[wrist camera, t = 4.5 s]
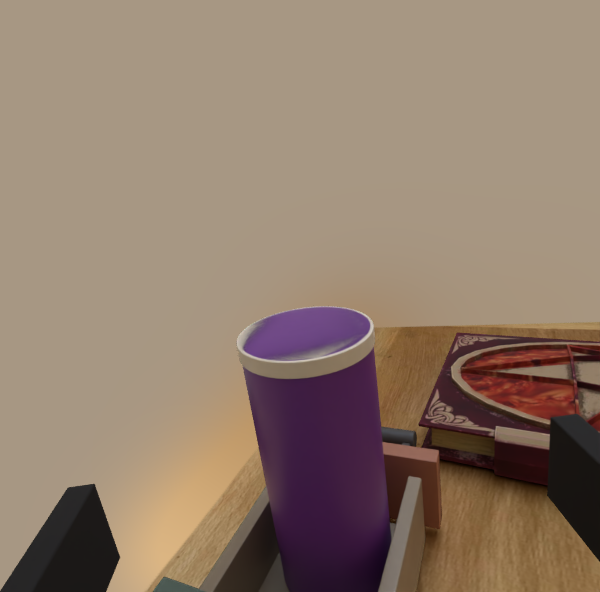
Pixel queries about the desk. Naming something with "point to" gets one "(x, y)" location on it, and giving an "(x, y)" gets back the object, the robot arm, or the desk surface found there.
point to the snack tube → (320, 445)
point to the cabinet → (174, 586)
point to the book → (510, 400)
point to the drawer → (402, 506)
